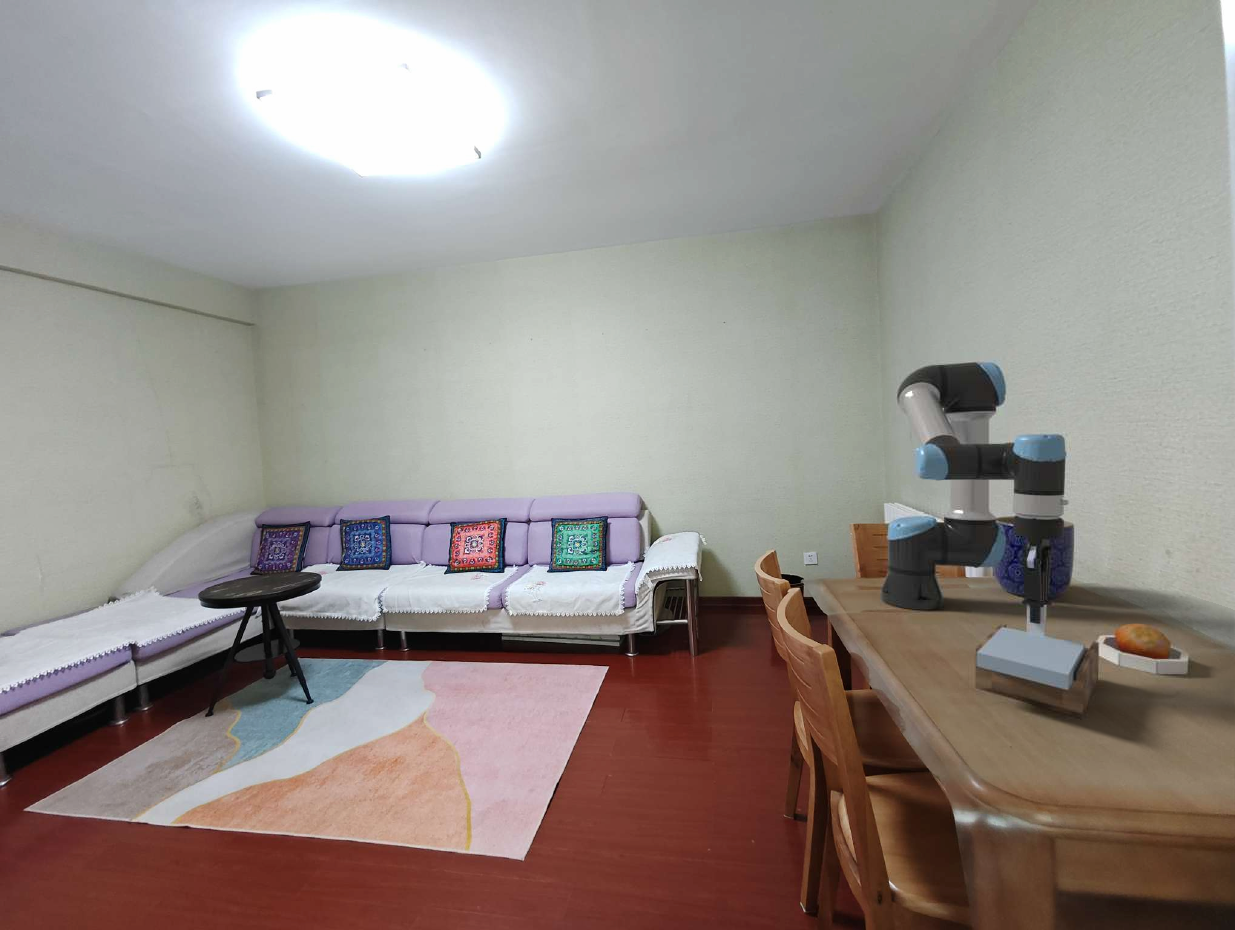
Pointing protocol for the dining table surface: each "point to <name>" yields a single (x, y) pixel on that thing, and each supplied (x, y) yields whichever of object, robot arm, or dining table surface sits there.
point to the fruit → (1142, 641)
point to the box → (1040, 693)
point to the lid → (1032, 657)
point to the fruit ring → (1143, 658)
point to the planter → (1011, 564)
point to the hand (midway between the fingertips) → (1036, 638)
